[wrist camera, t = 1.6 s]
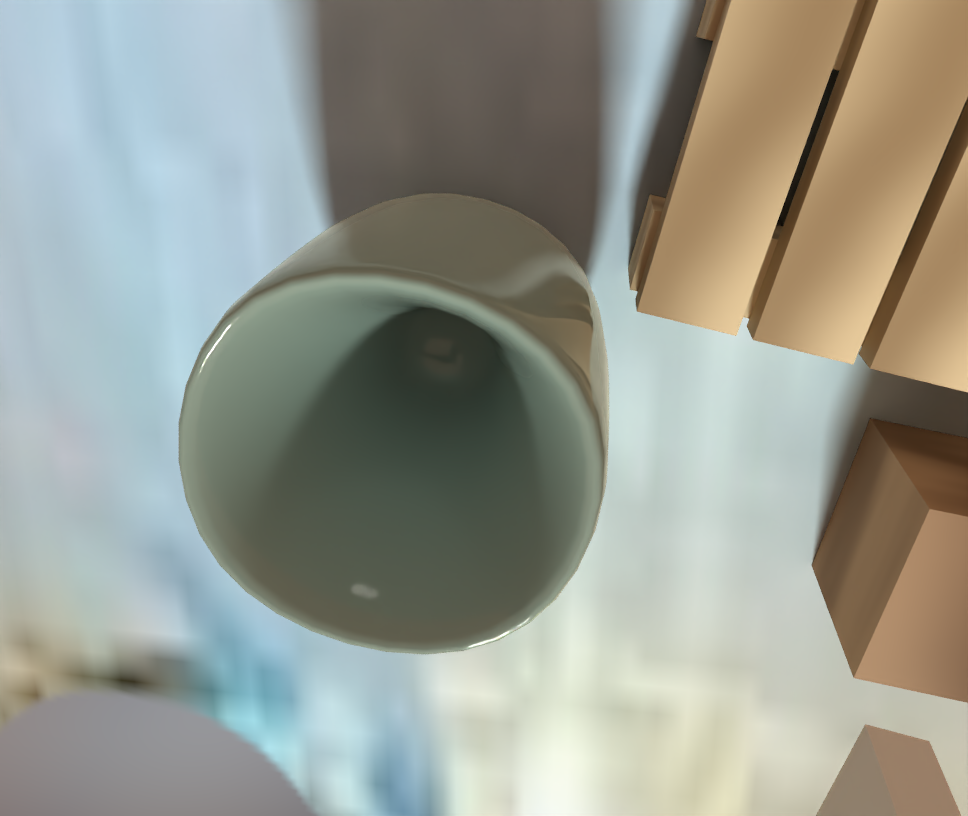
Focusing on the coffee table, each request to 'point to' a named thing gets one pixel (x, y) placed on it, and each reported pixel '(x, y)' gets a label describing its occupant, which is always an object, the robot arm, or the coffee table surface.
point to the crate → (901, 560)
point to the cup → (404, 427)
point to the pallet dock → (823, 186)
